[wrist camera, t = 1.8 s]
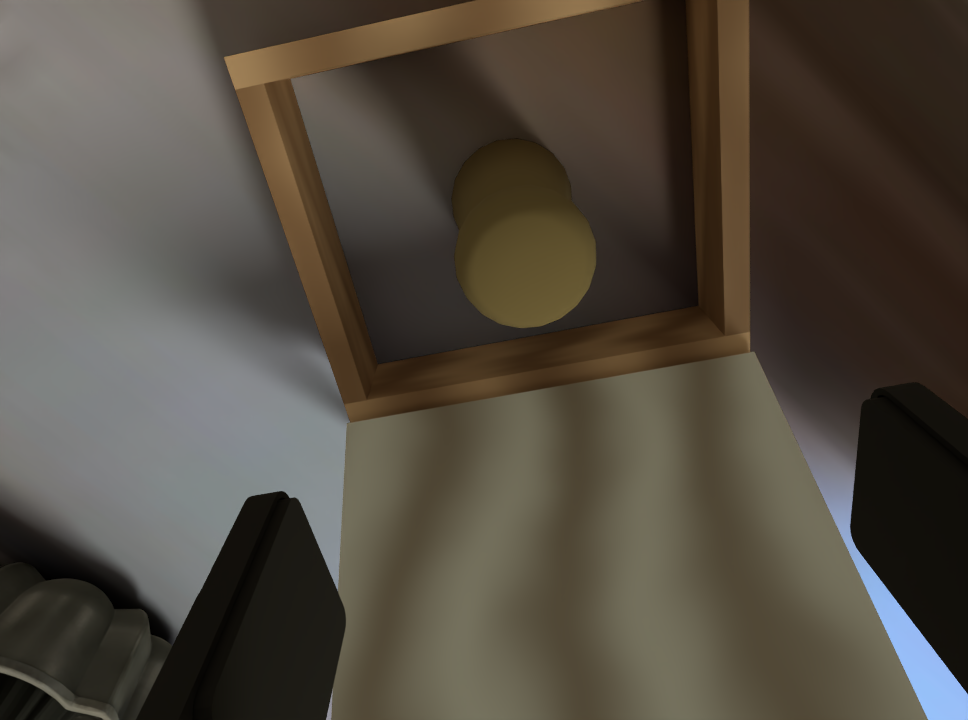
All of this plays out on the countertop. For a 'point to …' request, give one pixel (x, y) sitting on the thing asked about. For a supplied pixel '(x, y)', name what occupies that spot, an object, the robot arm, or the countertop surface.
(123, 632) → the bundt pan
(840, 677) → the cold frame
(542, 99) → the countertop surface
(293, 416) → the countertop surface
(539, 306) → the cork
